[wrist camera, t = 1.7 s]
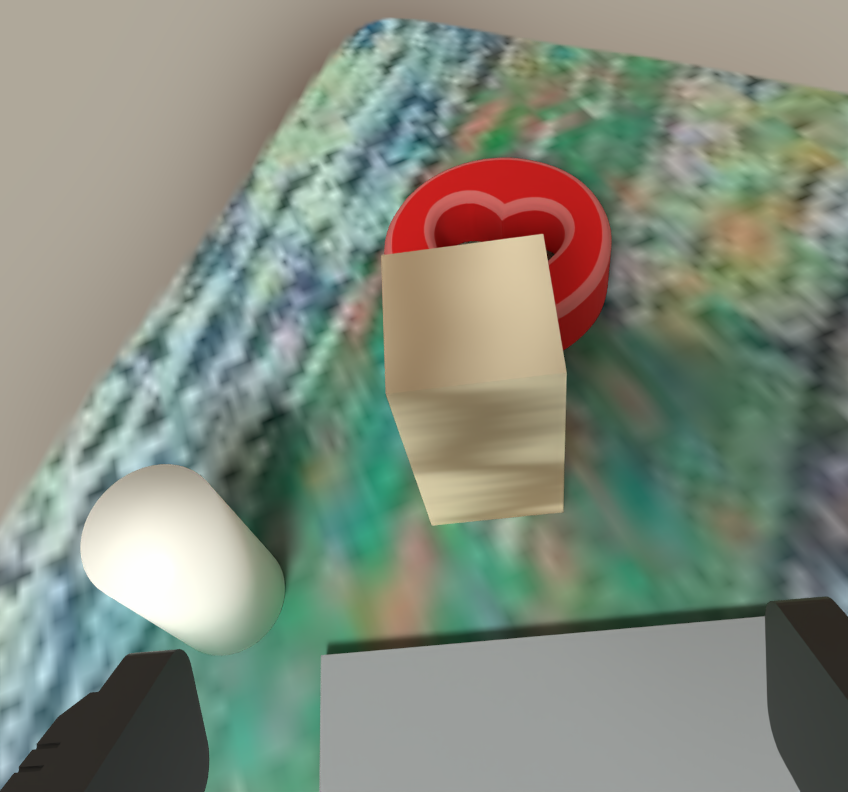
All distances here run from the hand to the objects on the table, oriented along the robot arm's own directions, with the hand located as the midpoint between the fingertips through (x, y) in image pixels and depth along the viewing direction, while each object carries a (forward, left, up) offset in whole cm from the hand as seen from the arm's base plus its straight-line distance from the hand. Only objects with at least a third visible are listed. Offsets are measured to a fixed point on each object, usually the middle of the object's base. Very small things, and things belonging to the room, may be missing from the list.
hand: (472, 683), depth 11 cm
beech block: (+3, -11, -17) cm, 21 cm away
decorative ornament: (+5, -20, -18) cm, 27 cm away
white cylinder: (+12, -4, -17) cm, 22 cm away
